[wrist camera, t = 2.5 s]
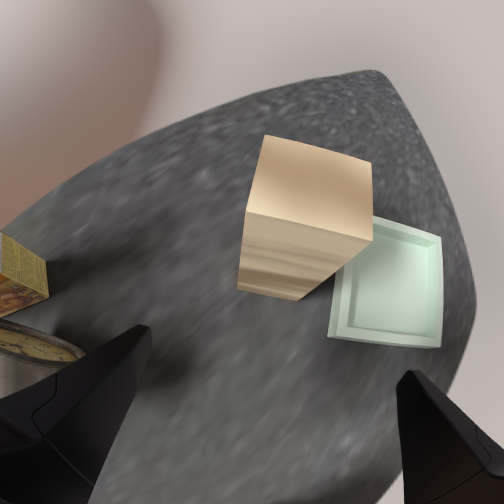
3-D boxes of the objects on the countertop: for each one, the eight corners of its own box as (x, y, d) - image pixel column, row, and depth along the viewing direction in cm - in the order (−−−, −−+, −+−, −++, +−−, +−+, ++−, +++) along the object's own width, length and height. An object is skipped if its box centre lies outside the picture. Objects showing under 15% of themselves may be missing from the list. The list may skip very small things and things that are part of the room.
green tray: (427, 348, 21) (440, 347, 20) (327, 337, 21) (335, 335, 19) (430, 244, 25) (440, 237, 23) (340, 218, 25) (348, 208, 23)
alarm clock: (118, 357, 19) (-44, 346, 4) (111, 416, 18) (-33, 472, 2) (27, 322, 19) (-104, 273, 4) (20, 373, 17) (-110, 358, 2)
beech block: (297, 301, 22) (372, 241, 10) (236, 288, 22) (245, 211, 10) (304, 255, 24) (371, 163, 11) (247, 243, 24) (265, 134, 11)
